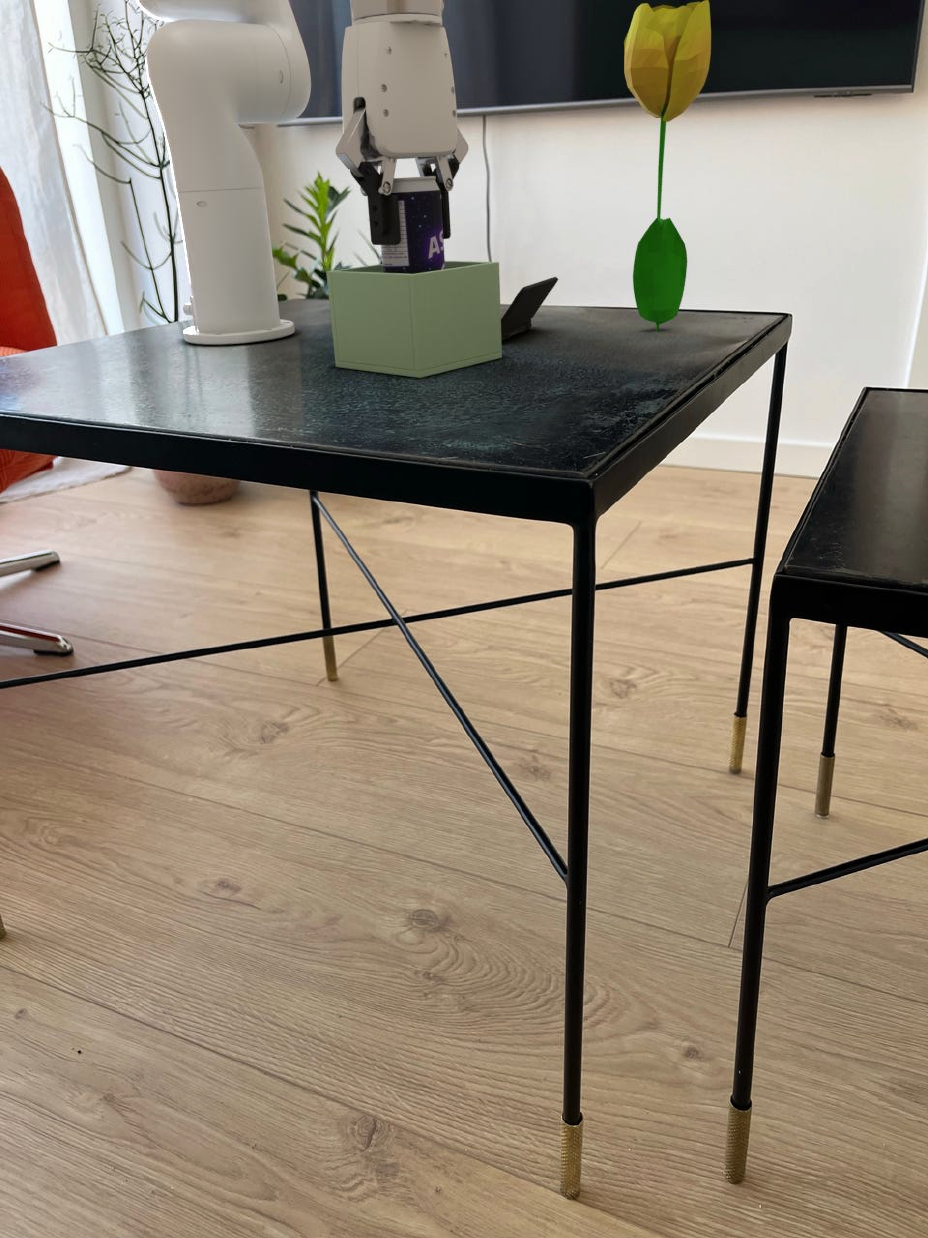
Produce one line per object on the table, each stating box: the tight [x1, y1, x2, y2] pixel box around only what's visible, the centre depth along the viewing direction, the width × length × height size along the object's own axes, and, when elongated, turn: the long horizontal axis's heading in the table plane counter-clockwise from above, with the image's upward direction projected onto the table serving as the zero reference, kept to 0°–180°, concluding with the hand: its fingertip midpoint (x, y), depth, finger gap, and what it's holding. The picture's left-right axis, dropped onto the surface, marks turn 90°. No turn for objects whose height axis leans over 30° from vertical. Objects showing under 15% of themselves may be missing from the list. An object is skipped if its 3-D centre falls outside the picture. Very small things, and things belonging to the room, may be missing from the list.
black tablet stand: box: [501, 276, 559, 342], centre depth 104 cm, size 12×7×10 cm
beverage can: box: [380, 176, 446, 274], centre depth 89 cm, size 6×6×12 cm
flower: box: [623, 0, 712, 331], centre depth 98 cm, size 9×8×30 cm
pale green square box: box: [325, 260, 503, 379], centre depth 91 cm, size 11×11×9 cm
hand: (411, 239), depth 88 cm, fingers closed on beverage can, 5 cm apart
